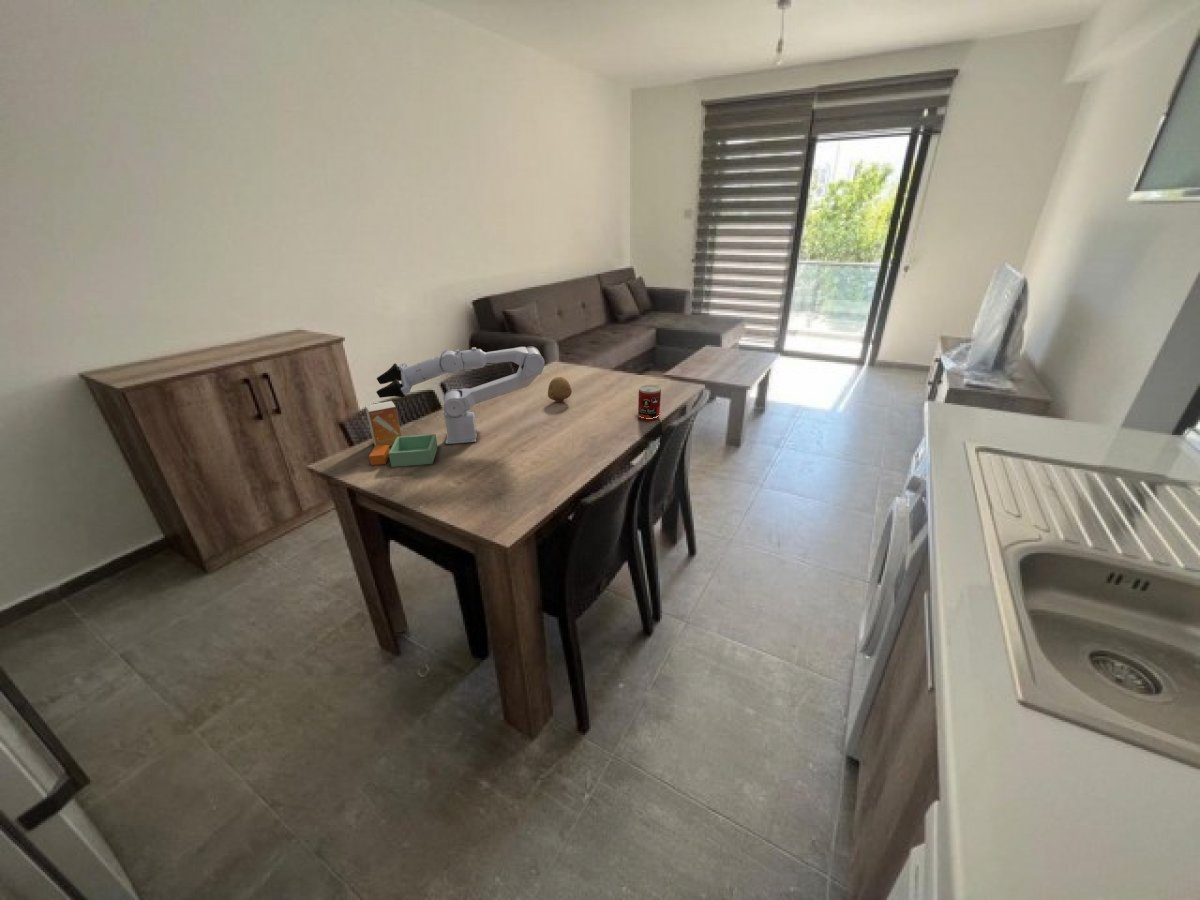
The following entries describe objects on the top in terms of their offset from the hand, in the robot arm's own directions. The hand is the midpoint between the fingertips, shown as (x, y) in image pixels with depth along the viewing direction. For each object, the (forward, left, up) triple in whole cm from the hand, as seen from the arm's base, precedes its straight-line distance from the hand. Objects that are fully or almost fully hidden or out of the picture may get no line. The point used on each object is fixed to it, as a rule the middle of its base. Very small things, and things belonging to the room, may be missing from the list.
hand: (378, 387), depth 144 cm
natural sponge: (-57, -30, -20) cm, 67 cm away
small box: (+1, -2, -20) cm, 20 cm away
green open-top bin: (-9, +9, -20) cm, 23 cm away
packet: (+1, +9, -20) cm, 22 cm away
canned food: (-87, -9, -20) cm, 90 cm away
